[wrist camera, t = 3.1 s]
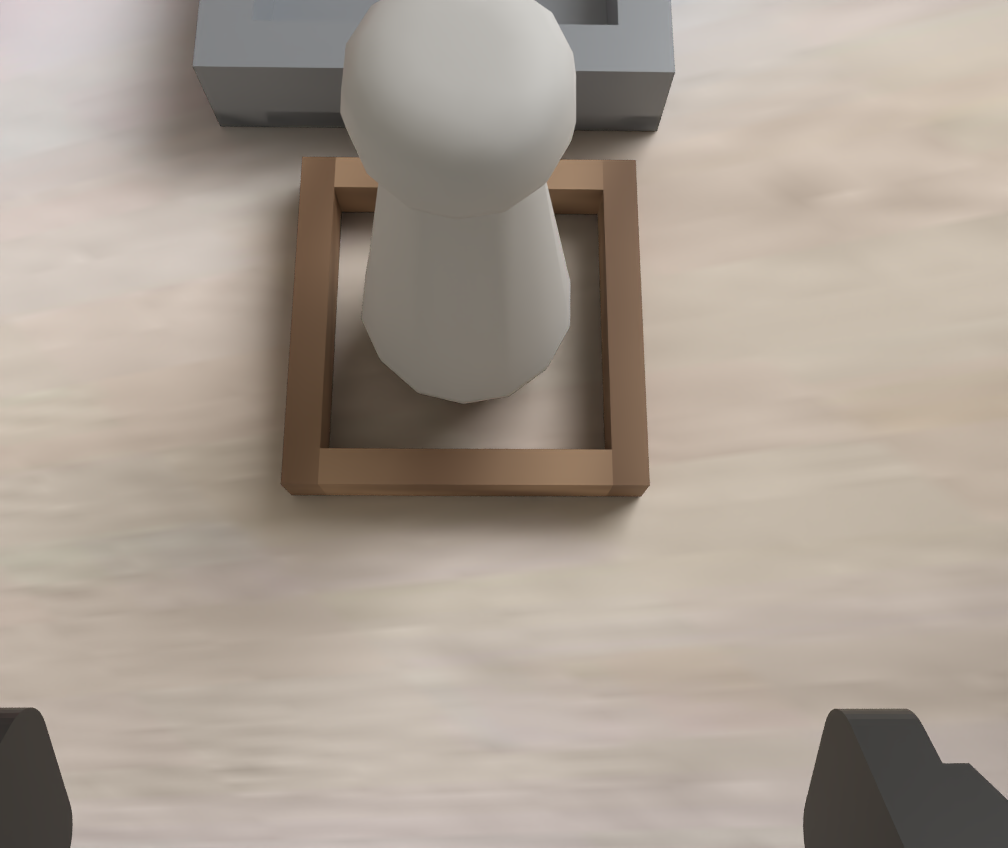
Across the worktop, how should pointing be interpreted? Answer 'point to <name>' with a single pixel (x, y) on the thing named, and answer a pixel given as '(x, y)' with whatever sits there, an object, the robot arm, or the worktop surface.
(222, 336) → the worktop surface
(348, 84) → the salt shaker
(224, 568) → the worktop surface
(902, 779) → the robot arm
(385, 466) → the wooden square frame
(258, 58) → the tray
